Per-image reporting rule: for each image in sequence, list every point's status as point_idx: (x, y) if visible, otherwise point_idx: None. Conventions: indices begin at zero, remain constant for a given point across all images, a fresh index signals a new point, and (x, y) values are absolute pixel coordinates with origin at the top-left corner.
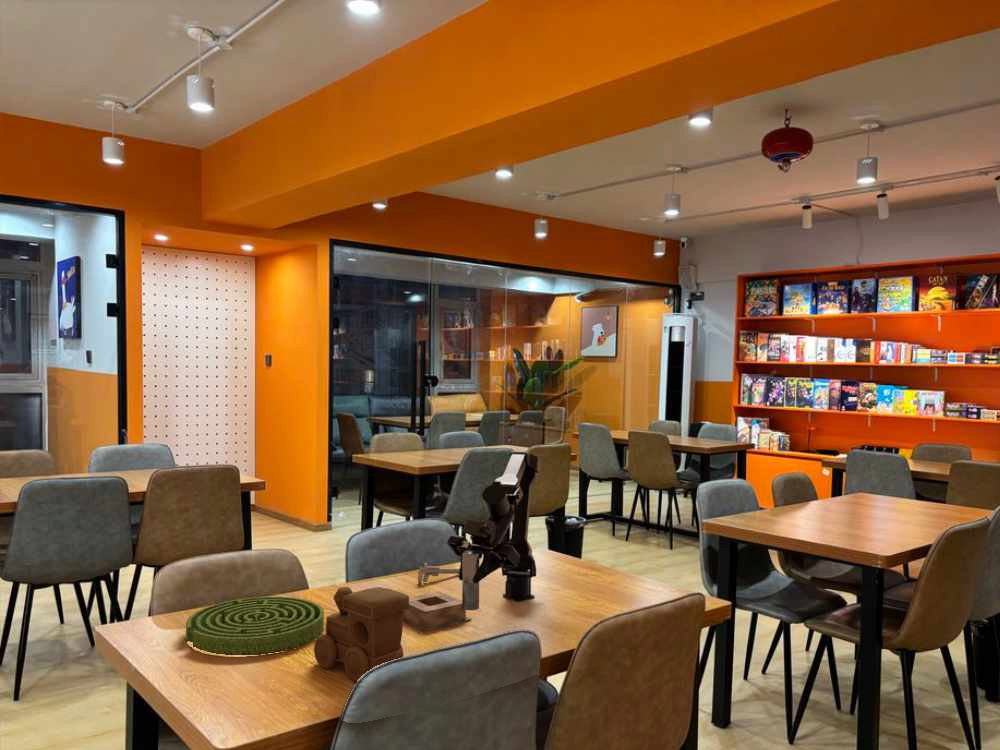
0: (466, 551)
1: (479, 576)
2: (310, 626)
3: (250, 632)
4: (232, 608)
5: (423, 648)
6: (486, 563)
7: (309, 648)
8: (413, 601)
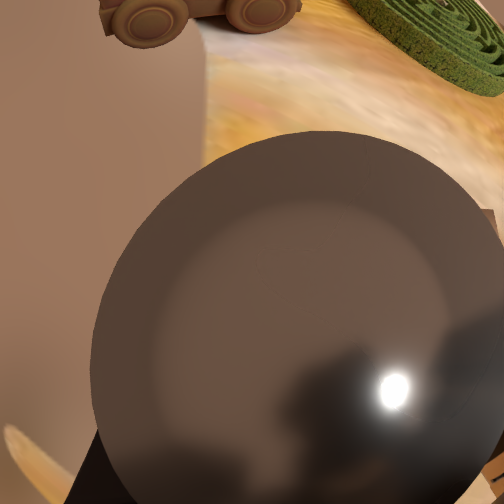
0: (501, 325)
1: None
2: (380, 3)
3: None
4: (479, 17)
5: (215, 142)
6: (77, 477)
7: (342, 10)
8: None
